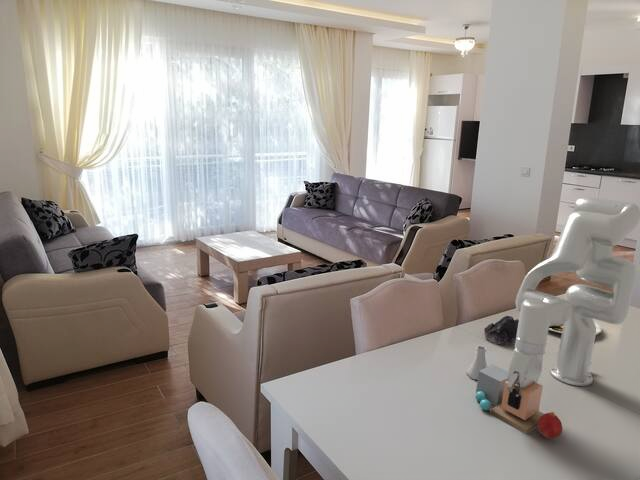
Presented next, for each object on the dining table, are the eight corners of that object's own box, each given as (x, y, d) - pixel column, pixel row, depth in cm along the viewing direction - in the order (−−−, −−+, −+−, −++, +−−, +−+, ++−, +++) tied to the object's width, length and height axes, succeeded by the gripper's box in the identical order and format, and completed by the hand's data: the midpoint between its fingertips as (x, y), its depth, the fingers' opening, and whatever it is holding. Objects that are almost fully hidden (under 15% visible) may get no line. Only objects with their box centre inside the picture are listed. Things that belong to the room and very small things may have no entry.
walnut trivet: (511, 400, 142) (511, 397, 142) (547, 419, 134) (547, 415, 133) (490, 413, 135) (490, 409, 135) (526, 433, 127) (527, 429, 127)
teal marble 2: (484, 396, 138) (478, 403, 139) (482, 398, 136) (476, 406, 136) (493, 403, 137) (487, 411, 138) (491, 405, 134) (485, 413, 135)
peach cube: (538, 411, 133) (542, 385, 131) (524, 420, 129) (529, 394, 127) (514, 399, 139) (518, 374, 137) (500, 407, 135) (504, 382, 133)
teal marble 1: (477, 387, 142) (471, 396, 142) (482, 392, 139) (477, 400, 139) (484, 392, 143) (478, 400, 143) (490, 396, 140) (484, 405, 140)
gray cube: (489, 387, 149) (492, 364, 147) (510, 398, 143) (514, 374, 141) (475, 394, 144) (478, 370, 142) (496, 406, 139) (500, 381, 137)
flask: (490, 383, 152) (494, 354, 149) (467, 379, 153) (471, 351, 150) (487, 371, 158) (491, 344, 156) (465, 368, 160) (468, 341, 157)
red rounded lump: (531, 431, 128) (536, 405, 126) (551, 431, 129) (556, 404, 127) (543, 445, 122) (547, 418, 120) (564, 445, 123) (569, 418, 121)
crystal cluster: (476, 340, 184) (481, 317, 180) (489, 326, 193) (494, 305, 190) (511, 354, 176) (516, 330, 172) (523, 339, 186) (528, 317, 182)
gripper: (533, 332, 137) (524, 386, 142) (499, 347, 127) (491, 406, 131) (559, 341, 132) (549, 398, 136) (526, 358, 121) (516, 419, 125)
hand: (520, 402), depth 133 cm, fingers closed on peach cube, 7 cm apart
